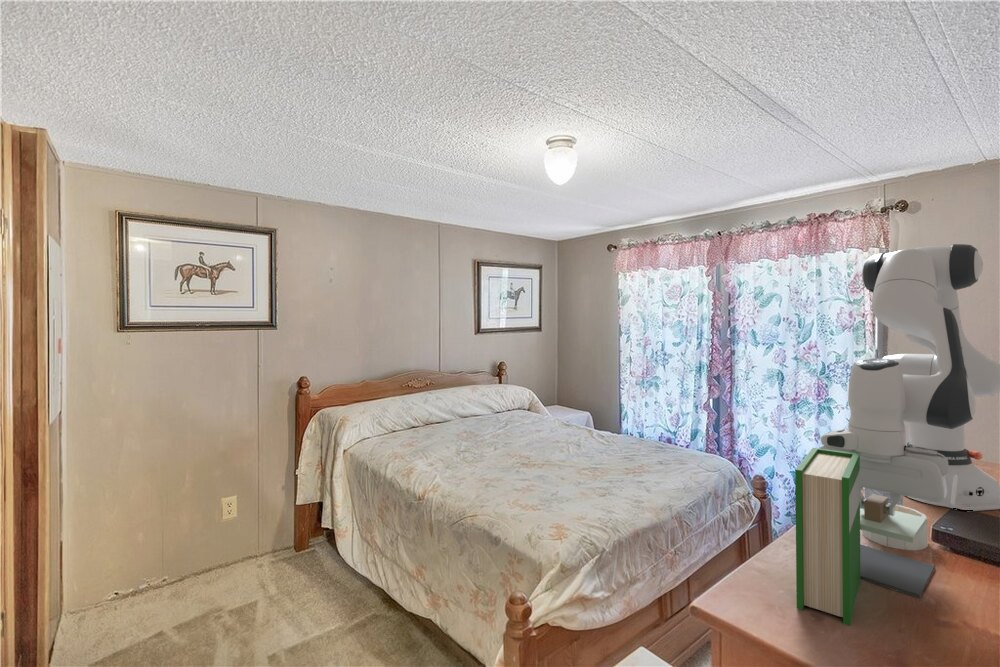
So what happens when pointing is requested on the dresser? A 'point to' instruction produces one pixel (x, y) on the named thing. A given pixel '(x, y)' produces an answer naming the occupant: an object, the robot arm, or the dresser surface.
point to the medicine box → (871, 491)
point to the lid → (889, 520)
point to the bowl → (900, 544)
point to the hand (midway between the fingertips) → (876, 511)
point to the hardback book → (828, 531)
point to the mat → (894, 571)
